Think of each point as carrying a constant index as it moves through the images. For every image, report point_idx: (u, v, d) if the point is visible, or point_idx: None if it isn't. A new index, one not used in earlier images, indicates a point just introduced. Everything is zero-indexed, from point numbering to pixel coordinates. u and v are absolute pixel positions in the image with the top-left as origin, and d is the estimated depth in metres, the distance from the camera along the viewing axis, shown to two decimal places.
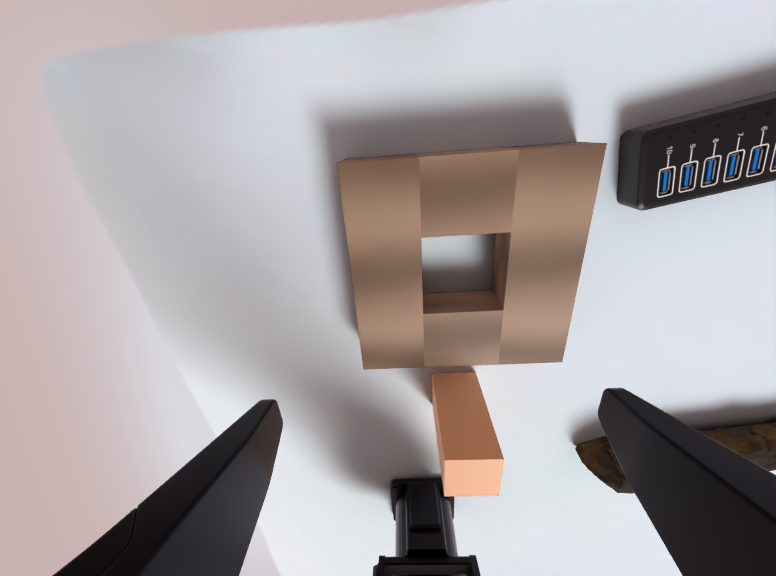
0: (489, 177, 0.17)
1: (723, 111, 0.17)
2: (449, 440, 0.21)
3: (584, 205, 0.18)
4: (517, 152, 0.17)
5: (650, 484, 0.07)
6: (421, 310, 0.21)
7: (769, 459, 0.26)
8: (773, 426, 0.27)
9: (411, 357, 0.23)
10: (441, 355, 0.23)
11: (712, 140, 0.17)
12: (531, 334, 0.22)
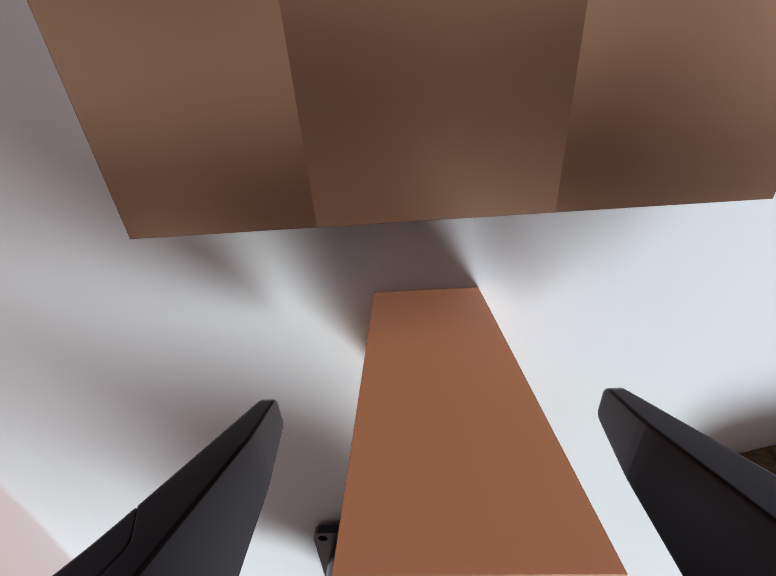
0: None
1: None
2: (378, 468, 0.05)
3: None
4: None
5: (650, 484, 0.07)
6: None
7: None
8: None
9: (268, 188, 0.07)
10: (366, 178, 0.07)
11: None
12: (690, 69, 0.06)
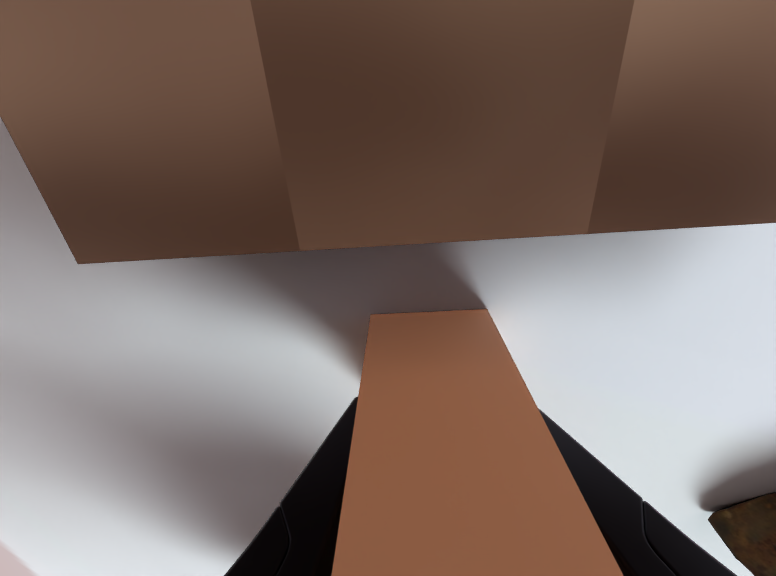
0: None
1: None
2: (370, 574, 0.04)
3: None
4: None
5: None
6: None
7: None
8: None
9: (240, 204, 0.06)
10: (358, 193, 0.06)
11: None
12: (766, 58, 0.05)
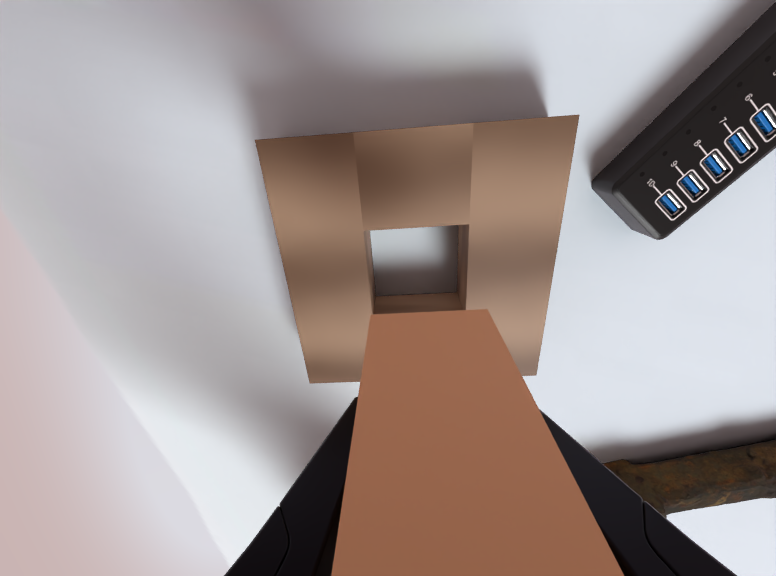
0: (440, 157, 0.14)
1: (684, 118, 0.14)
2: None
3: (555, 191, 0.15)
4: (471, 126, 0.14)
5: None
6: None
7: (770, 487, 0.23)
8: (774, 445, 0.24)
9: None
10: None
11: (693, 145, 0.15)
12: None
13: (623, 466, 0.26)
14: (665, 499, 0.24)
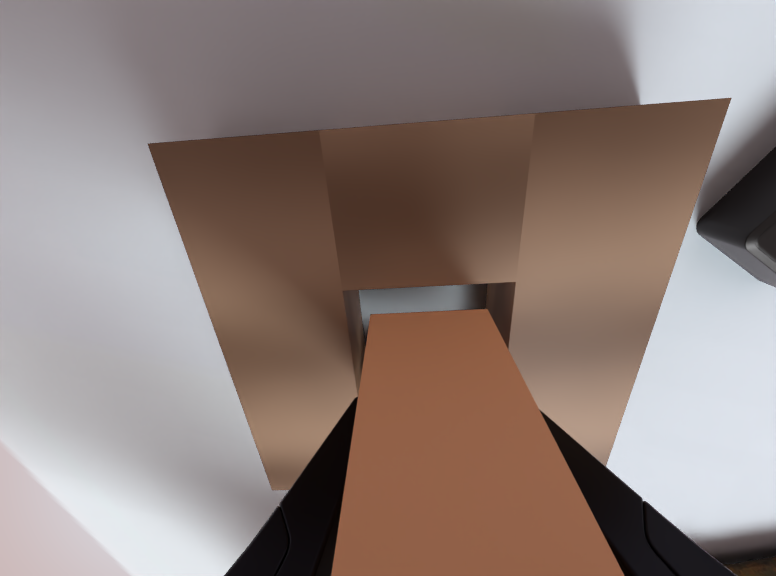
0: (472, 174, 0.08)
1: None
2: None
3: (666, 231, 0.09)
4: (531, 119, 0.08)
5: None
6: None
7: None
8: None
9: None
10: None
11: None
12: None
13: None
14: None
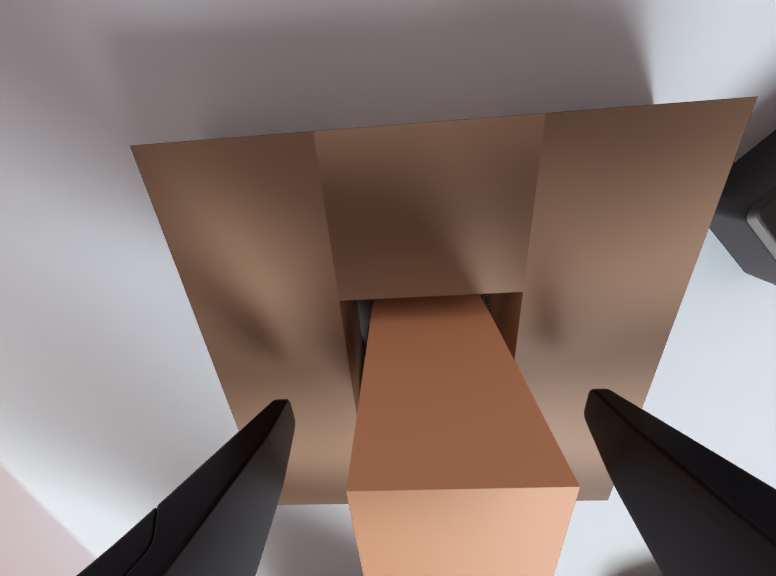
0: (477, 178, 0.08)
1: None
2: (381, 418, 0.06)
3: (683, 239, 0.08)
4: (541, 119, 0.07)
5: (632, 484, 0.07)
6: (355, 423, 0.11)
7: None
8: None
9: None
10: None
11: None
12: None
13: None
14: None
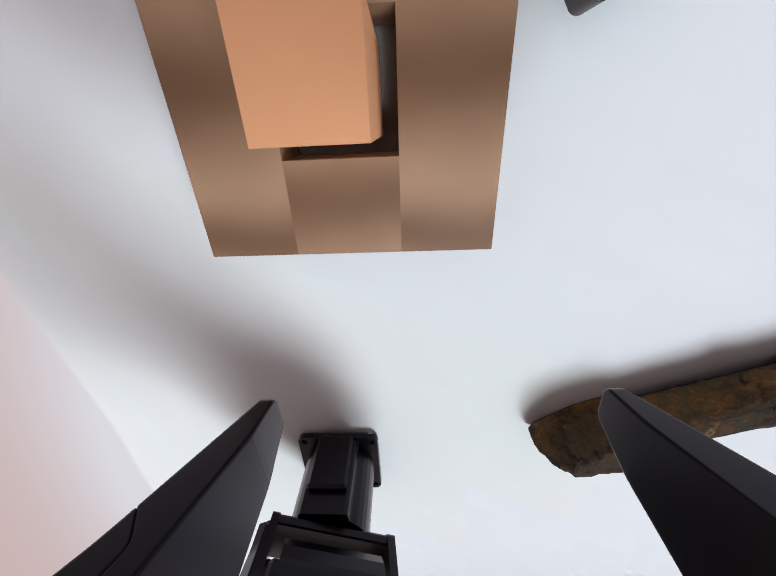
0: None
1: None
2: None
3: None
4: None
5: (650, 484, 0.07)
6: (278, 154, 0.14)
7: (766, 413, 0.19)
8: (772, 368, 0.21)
9: (277, 237, 0.16)
10: (319, 235, 0.16)
11: None
12: (443, 200, 0.15)
13: (598, 404, 0.23)
14: None
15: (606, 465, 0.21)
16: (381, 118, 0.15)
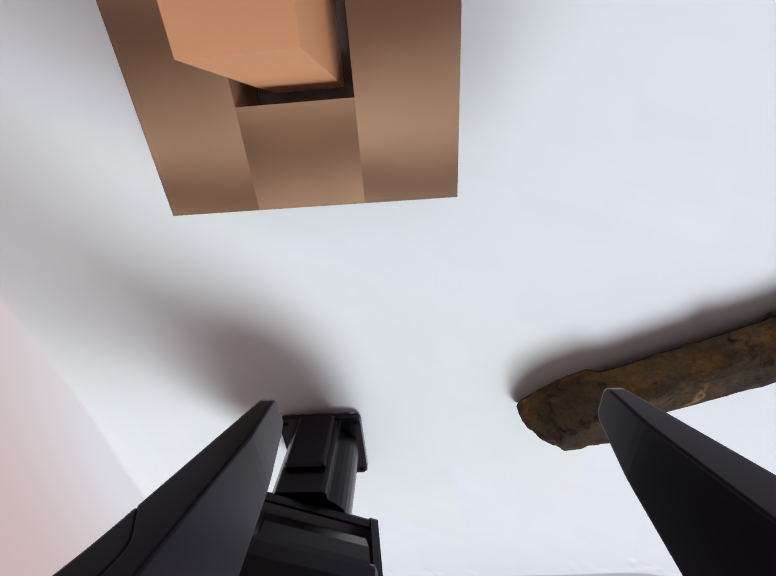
0: None
1: None
2: None
3: None
4: None
5: (650, 484, 0.07)
6: (230, 100, 0.14)
7: (756, 370, 0.19)
8: (761, 325, 0.20)
9: (236, 192, 0.15)
10: (279, 187, 0.15)
11: None
12: (404, 144, 0.14)
13: (585, 375, 0.23)
14: None
15: (594, 435, 0.20)
16: (338, 64, 0.15)
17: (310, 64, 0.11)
